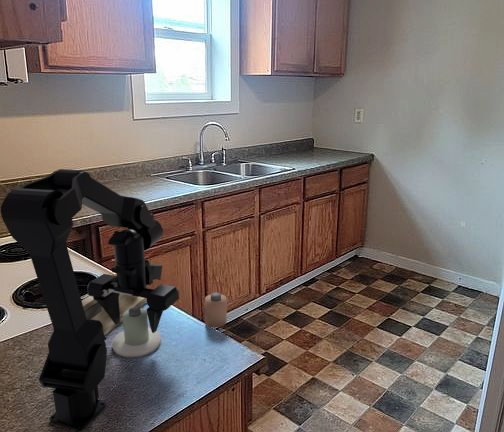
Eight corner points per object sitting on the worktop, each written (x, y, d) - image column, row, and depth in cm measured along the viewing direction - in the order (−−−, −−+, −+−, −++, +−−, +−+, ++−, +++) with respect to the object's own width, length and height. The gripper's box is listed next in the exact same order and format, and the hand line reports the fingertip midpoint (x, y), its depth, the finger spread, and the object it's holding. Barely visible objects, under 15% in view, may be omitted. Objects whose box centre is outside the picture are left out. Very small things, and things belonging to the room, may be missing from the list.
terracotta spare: (223, 329, 99) (223, 301, 96) (202, 326, 100) (201, 298, 97) (229, 318, 103) (229, 291, 101) (209, 315, 104) (208, 288, 102)
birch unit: (88, 347, 91) (84, 313, 89) (69, 342, 93) (65, 309, 91) (148, 301, 111) (146, 272, 109) (131, 297, 113) (128, 269, 110)
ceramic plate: (143, 361, 87) (143, 357, 86) (102, 351, 90) (102, 347, 90) (169, 335, 96) (169, 331, 95) (131, 327, 99) (131, 323, 99)
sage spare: (140, 347, 90) (137, 317, 88) (119, 342, 91) (117, 313, 89) (153, 335, 94) (151, 306, 92) (133, 330, 96) (131, 302, 94)
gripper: (190, 251, 91) (193, 317, 96) (116, 240, 98) (122, 303, 102) (162, 272, 81) (166, 344, 86) (81, 258, 88) (89, 326, 92)
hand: (135, 327), depth 92 cm, fingers open, 9 cm apart
